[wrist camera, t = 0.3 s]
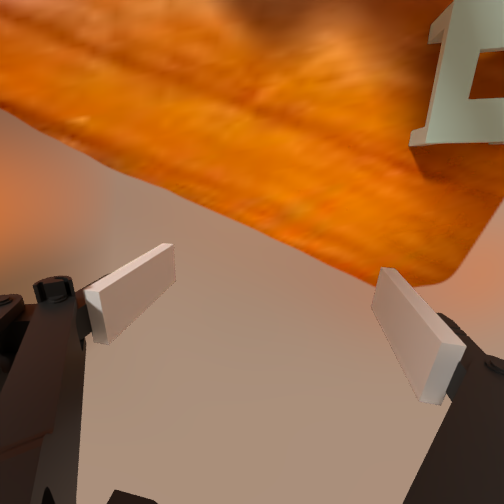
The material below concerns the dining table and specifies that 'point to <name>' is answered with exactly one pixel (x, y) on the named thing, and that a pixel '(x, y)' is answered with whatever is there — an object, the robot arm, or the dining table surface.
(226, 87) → the dining table surface
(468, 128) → the bridge
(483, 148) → the dining table surface
